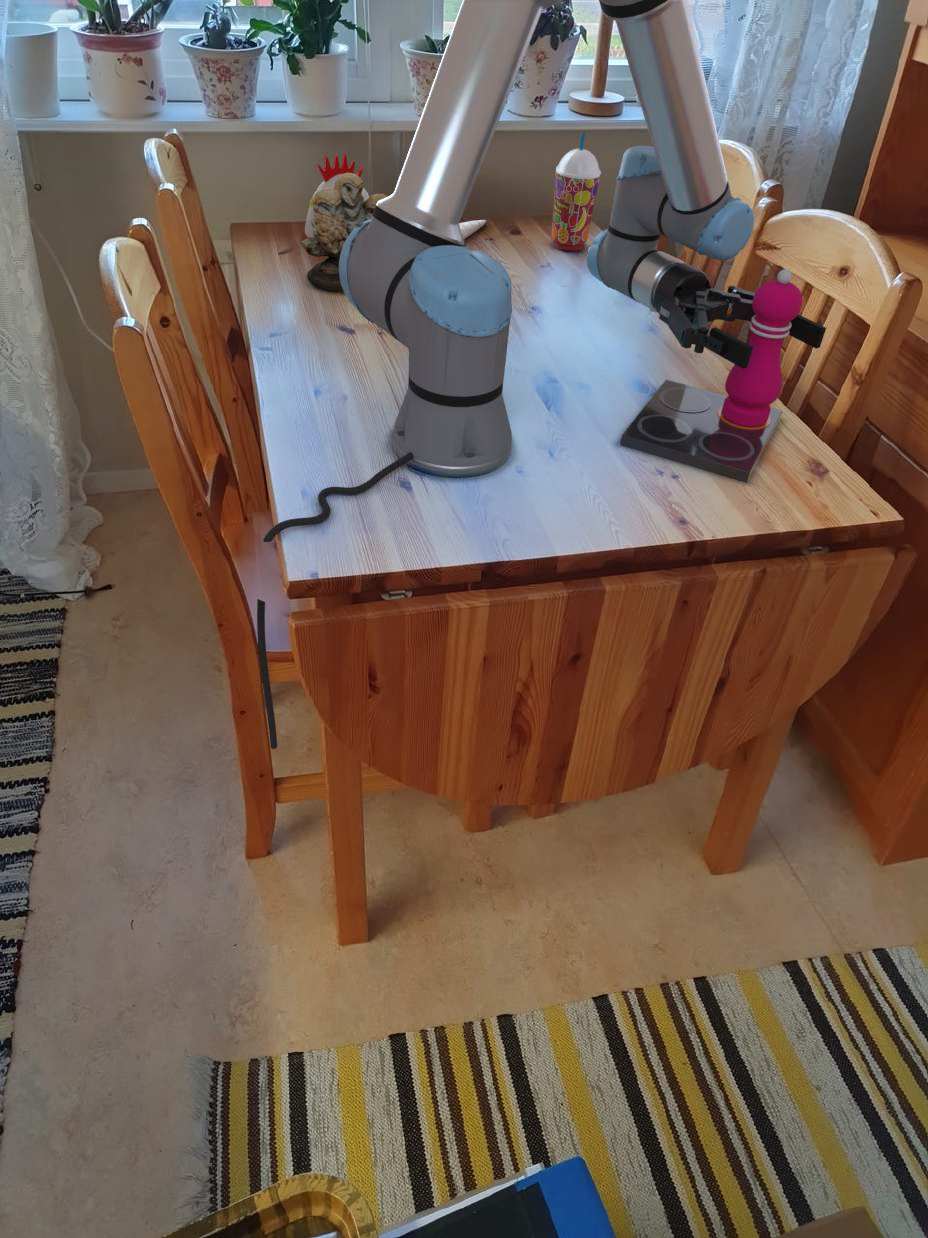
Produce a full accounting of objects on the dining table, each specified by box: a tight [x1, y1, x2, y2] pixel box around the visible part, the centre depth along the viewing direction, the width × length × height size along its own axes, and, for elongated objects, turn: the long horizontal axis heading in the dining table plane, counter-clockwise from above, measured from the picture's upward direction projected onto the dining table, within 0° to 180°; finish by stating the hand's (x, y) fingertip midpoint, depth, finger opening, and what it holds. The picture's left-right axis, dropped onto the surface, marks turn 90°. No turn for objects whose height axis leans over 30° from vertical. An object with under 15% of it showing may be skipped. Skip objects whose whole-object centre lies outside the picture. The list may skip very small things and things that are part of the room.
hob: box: [619, 379, 783, 483], centre depth 125 cm, size 19×17×2 cm
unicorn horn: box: [459, 219, 487, 240], centre depth 175 cm, size 5×24×5 cm, turn 149°
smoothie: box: [551, 131, 602, 252], centre depth 172 cm, size 8×8×20 cm
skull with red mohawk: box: [304, 153, 370, 239], centre depth 168 cm, size 14×14×15 cm
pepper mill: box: [722, 268, 803, 427], centre depth 120 cm, size 7×7×20 cm
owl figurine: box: [300, 172, 389, 294], centre depth 153 cm, size 18×12×17 cm, turn 115°
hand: (785, 347), depth 117 cm, fingers open, 13 cm apart
